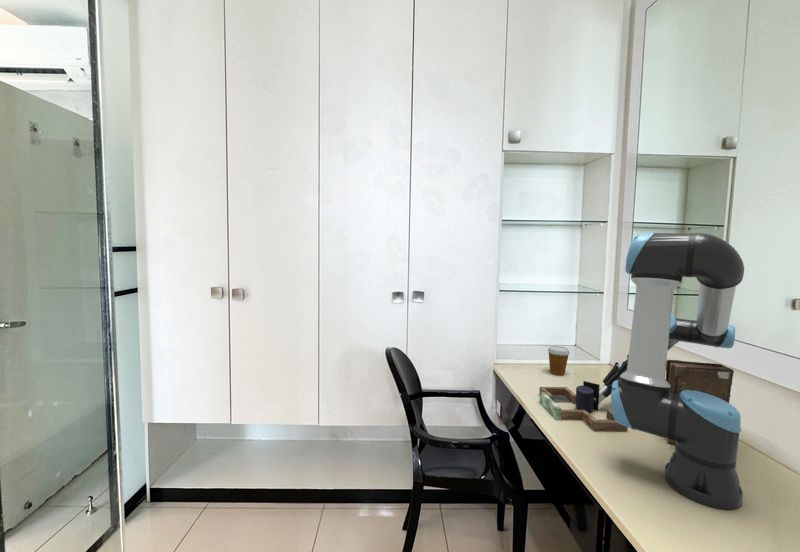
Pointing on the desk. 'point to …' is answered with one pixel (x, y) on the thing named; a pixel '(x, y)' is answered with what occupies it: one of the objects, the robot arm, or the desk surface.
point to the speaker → (587, 397)
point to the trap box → (565, 395)
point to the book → (699, 379)
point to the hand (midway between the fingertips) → (595, 400)
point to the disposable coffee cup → (558, 360)
